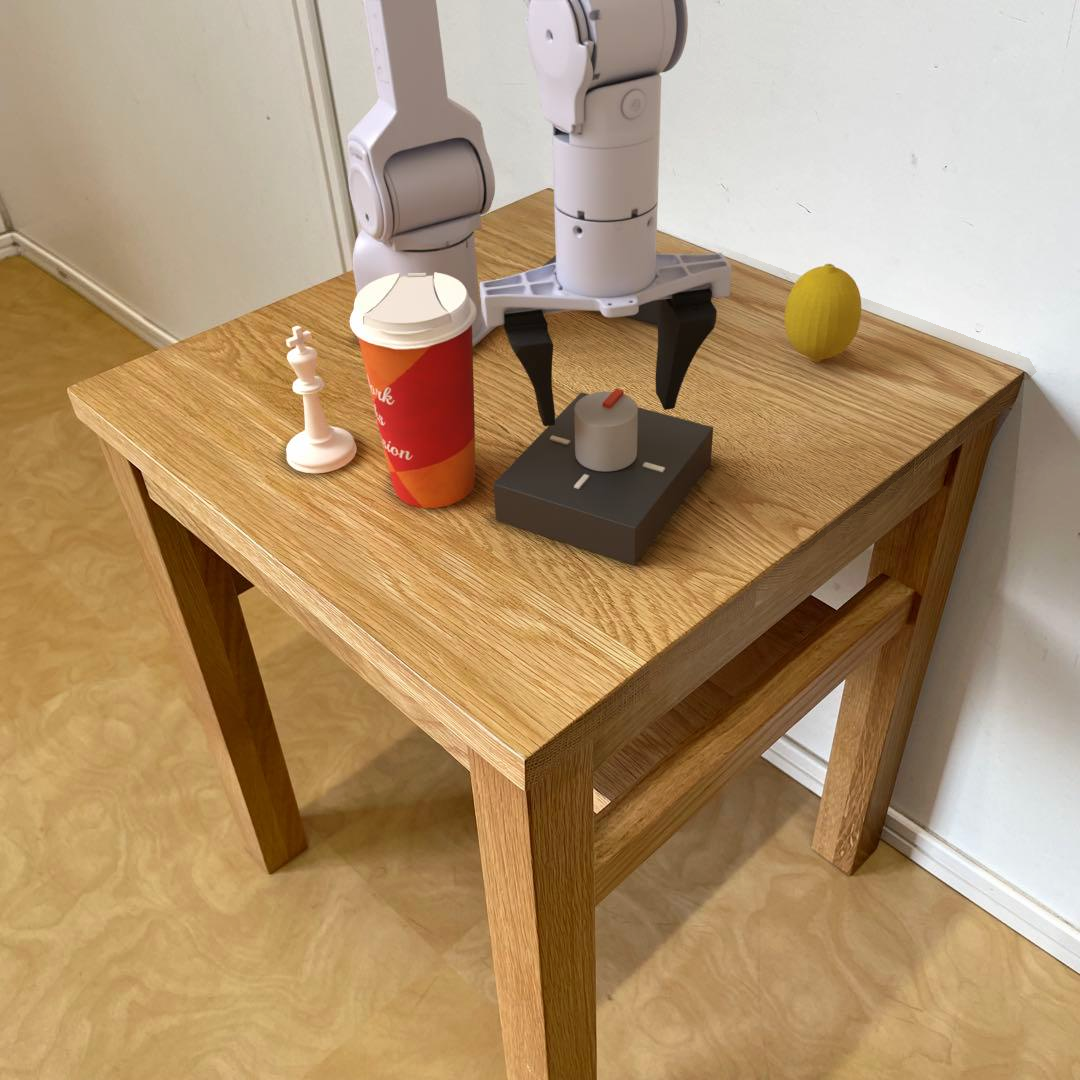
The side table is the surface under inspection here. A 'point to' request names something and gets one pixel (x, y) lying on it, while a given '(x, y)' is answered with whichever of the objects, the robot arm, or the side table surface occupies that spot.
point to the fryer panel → (604, 486)
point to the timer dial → (606, 431)
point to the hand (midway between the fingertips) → (606, 409)
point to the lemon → (823, 312)
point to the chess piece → (314, 417)
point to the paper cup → (421, 382)
